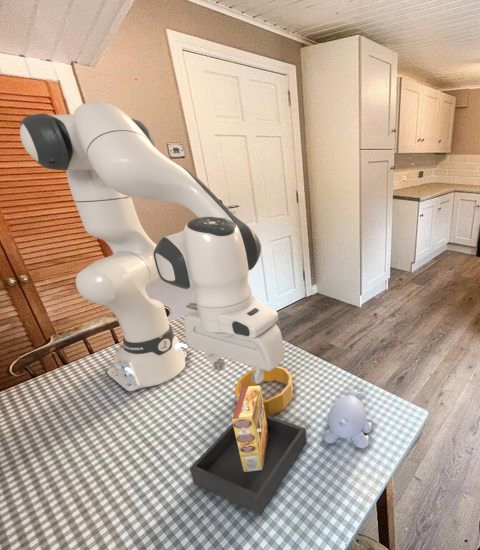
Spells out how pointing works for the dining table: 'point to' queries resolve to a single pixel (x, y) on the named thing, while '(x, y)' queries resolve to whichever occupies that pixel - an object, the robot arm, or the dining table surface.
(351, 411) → the hippopotamus toy
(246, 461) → the candy box
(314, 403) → the dining table surface
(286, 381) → the ring
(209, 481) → the bin
